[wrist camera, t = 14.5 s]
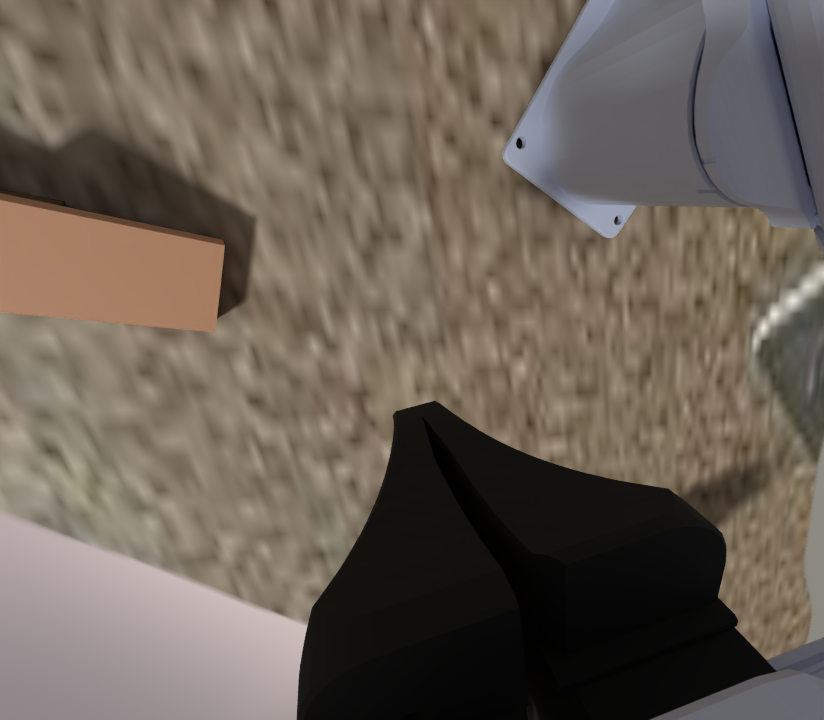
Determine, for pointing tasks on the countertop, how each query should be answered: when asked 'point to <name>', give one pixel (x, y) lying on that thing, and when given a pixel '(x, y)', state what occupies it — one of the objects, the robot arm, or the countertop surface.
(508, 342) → the countertop surface
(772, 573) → the countertop surface
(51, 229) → the domino
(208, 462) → the countertop surface
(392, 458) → the robot arm
